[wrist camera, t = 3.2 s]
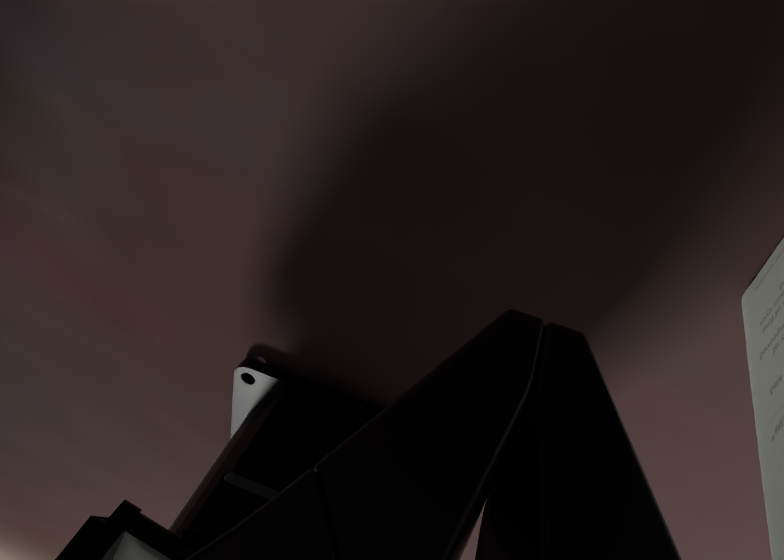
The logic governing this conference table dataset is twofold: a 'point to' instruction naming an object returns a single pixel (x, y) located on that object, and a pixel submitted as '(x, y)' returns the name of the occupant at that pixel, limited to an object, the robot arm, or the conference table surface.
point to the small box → (768, 385)
